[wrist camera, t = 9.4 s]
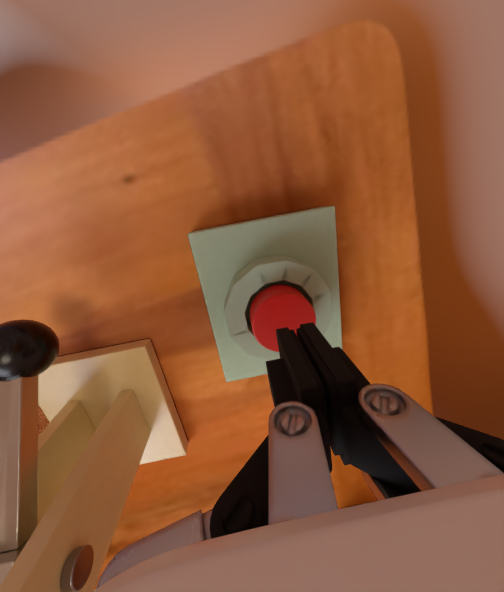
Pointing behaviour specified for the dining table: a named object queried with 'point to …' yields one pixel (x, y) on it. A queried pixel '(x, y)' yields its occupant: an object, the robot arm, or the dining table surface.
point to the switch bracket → (92, 460)
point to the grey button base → (266, 279)
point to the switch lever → (20, 431)
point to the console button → (278, 313)
